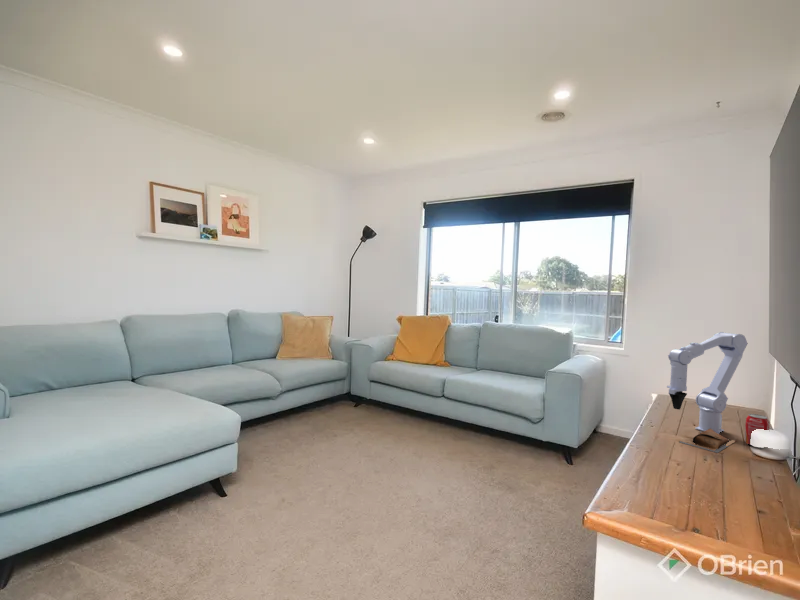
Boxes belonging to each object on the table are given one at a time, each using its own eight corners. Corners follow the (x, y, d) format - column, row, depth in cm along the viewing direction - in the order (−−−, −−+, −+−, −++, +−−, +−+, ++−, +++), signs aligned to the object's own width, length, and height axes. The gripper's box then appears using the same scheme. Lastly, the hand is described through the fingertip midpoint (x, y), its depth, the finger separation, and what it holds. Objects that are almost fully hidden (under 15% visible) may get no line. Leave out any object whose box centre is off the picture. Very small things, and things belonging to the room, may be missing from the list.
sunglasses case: (718, 450, 152) (708, 432, 155) (699, 454, 157) (689, 437, 159) (731, 441, 163) (721, 424, 166) (712, 445, 168) (703, 429, 171)
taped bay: (700, 431, 174) (700, 431, 174) (736, 441, 164) (736, 440, 164) (678, 442, 159) (678, 441, 159) (717, 453, 149) (717, 452, 149)
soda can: (758, 443, 162) (760, 413, 162) (773, 450, 155) (775, 419, 155) (739, 442, 163) (741, 412, 162) (753, 448, 156) (755, 418, 155)
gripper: (674, 374, 181) (672, 404, 181) (661, 377, 172) (659, 408, 173) (693, 377, 175) (691, 408, 176) (680, 380, 167) (678, 413, 167)
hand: (676, 408), depth 174 cm, fingers closed
